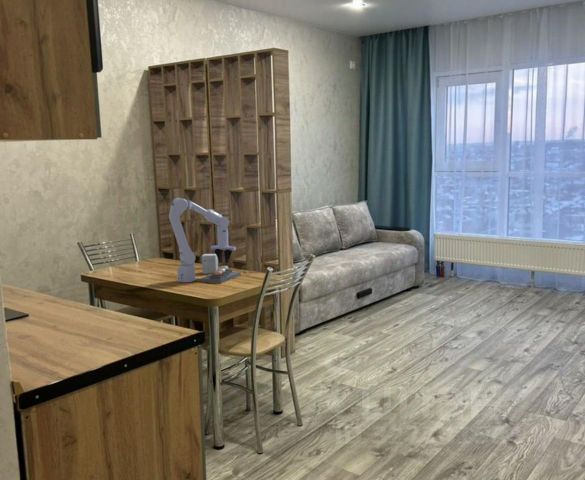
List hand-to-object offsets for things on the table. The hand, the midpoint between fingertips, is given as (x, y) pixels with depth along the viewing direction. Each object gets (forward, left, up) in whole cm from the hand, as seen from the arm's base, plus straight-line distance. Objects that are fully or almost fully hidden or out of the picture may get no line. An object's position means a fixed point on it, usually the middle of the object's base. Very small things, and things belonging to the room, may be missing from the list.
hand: (223, 262), depth 313 cm
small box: (+7, +13, -8) cm, 16 cm away
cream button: (-6, -2, -4) cm, 8 cm away
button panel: (-6, -2, -7) cm, 10 cm away
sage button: (0, 0, -4) cm, 4 cm away
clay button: (-13, -4, -4) cm, 14 cm away
